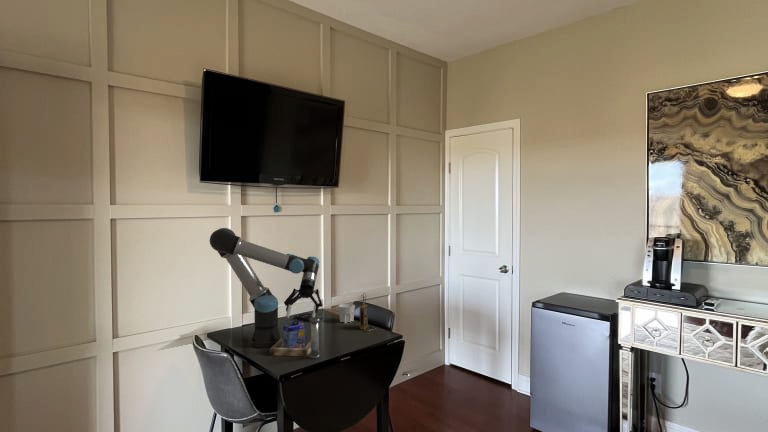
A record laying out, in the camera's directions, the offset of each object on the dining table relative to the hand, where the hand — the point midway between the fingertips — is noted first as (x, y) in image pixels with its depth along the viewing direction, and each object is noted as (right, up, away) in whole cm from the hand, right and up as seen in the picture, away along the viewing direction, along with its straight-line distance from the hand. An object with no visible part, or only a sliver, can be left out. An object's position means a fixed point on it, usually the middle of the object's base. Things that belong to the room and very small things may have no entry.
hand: (300, 317), depth 210 cm
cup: (+20, -13, +43) cm, 49 cm away
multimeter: (+35, -13, +27) cm, 46 cm away
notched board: (-1, -14, -8) cm, 16 cm away
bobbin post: (+11, -14, -19) cm, 26 cm away
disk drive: (-5, -14, +48) cm, 50 cm away
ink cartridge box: (-1, -14, -8) cm, 16 cm away
